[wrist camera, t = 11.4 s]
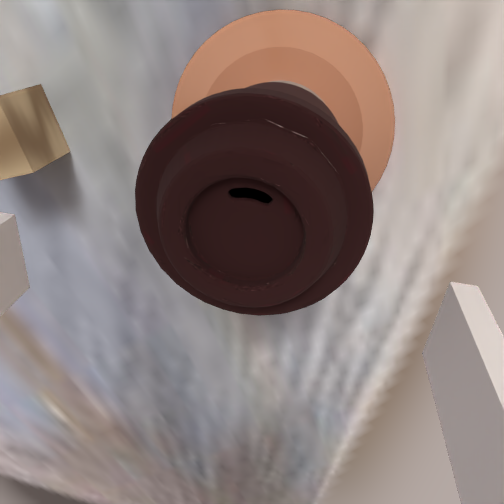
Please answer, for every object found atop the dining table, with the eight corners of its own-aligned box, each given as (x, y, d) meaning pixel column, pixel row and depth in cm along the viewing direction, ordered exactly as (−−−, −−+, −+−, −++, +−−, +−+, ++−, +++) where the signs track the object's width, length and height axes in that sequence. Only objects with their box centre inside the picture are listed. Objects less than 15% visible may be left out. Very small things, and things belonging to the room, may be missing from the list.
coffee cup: (283, 230, 33) (254, 374, 20) (180, 139, 31) (73, 236, 18) (388, 133, 29) (436, 239, 16) (276, 19, 26) (225, 32, 14)
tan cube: (-15, 99, 33) (-67, 114, 29) (41, 83, 32) (-4, 96, 27) (17, 163, 35) (-27, 185, 31) (71, 151, 34) (33, 172, 30)
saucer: (176, -3, 28) (170, -3, 27) (420, 23, 26) (423, 24, 25) (175, 214, 35) (171, 220, 34) (365, 242, 34) (366, 249, 33)
